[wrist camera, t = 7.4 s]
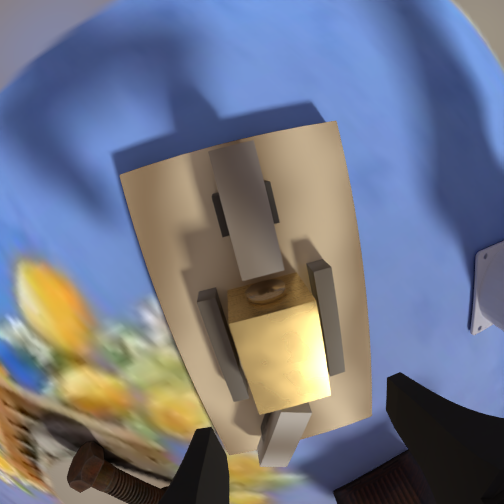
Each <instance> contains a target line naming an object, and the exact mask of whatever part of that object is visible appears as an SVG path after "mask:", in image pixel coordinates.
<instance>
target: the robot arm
mask: <svg viewBox="0 0 504 504" xmlns="http://www.w3.org/2000/svg"><path fill="white" fill-rule="evenodd" d="M493 324H494V325H495V326H497V327H498V328H500V329H501V330H502V331H504V241H502V242H499V243H497V244H495V245H493V246H490V247H488V248H485V249H483V250H481V251H479V252H478V253H477V254H476V258H475V285H474V300H473V311H472V320H471V329H470V333H471V334H472V335H476V334H477V333H479V332H481V331H483V330H484V329H486V328H488V327H490V326H491V325H493ZM386 411H387V413H388V415H389V417H390V420H391V422H392V424H393V426H394V428H395V430H396V431H397V433H398V434H399V436H400V437H401V439H402V440H403V442H404V443H405V445H406V446H407V448H408V449H409V451H410V452H411V454H412V455H413V457H414V458H415V460H416V461H417V463H418V464H419V466H420V468H421V470H422V471H423V474H424V476H425V478H426V480H427V482H428V484H429V486H430V488H431V491H432V493H433V495H434V498H435V500H436V503H437V504H504V418H499V417H495V416H490V415H486V414H483V413H479V412H476V411H473V410H470V409H468V408H465V407H462V406H460V405H458V404H456V403H453V402H451V401H449V400H447V399H445V398H443V397H441V396H440V395H438V394H436V393H434V392H432V391H430V390H429V389H427V388H425V387H424V386H422V385H420V384H419V383H417V382H415V381H414V380H412V379H410V378H409V377H407V376H406V375H404V374H402V373H401V372H399V373H397V374H395V375H392V376H390V377H387V399H386ZM157 504H229V470H228V462H227V455H226V453H225V451H224V450H223V448H222V446H221V444H220V442H219V440H218V439H217V437H216V435H215V433H214V431H213V429H212V427H207V428H201V429H196V431H195V433H194V435H193V438H192V440H191V443H190V445H189V448H188V450H187V452H186V454H185V457H184V459H183V461H182V463H181V465H180V467H179V469H178V471H177V473H176V475H175V476H174V478H173V480H172V482H171V483H170V485H169V487H168V488H167V490H166V492H165V493H164V495H163V496H162V498H161V499H160V500H159V502H158V503H157Z"/></svg>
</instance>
